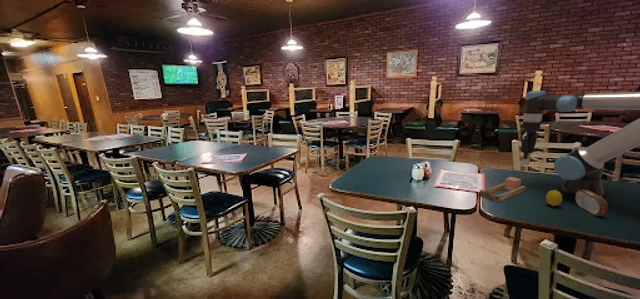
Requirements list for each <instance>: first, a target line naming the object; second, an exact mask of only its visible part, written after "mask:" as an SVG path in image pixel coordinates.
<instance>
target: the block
mask: <svg viewBox="0 0 640 299" xmlns="http://www.w3.org/2000/svg"><path fill="white" fill-rule="evenodd" d="M504 183H505V187H504V189H503V190H506V191H510V190H513V189H516V188H518V187H521V183H522V179H521V178H517V177H513V176H510V177H506V178H505V180H504Z"/></svg>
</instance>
